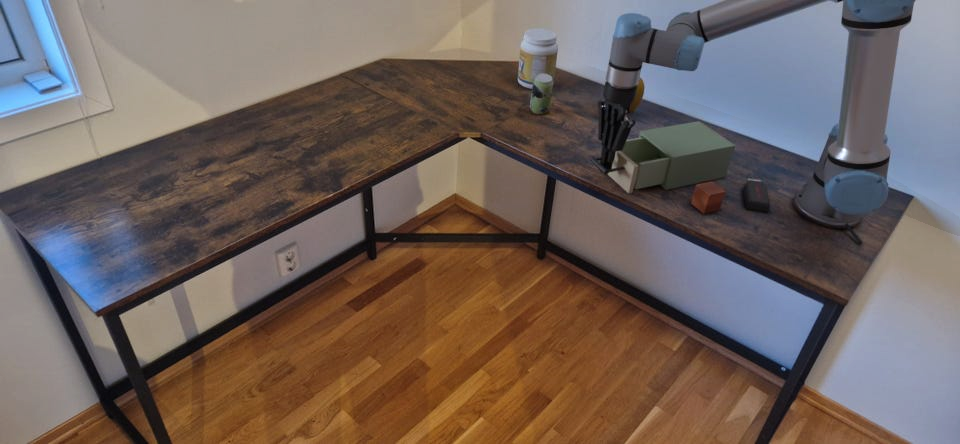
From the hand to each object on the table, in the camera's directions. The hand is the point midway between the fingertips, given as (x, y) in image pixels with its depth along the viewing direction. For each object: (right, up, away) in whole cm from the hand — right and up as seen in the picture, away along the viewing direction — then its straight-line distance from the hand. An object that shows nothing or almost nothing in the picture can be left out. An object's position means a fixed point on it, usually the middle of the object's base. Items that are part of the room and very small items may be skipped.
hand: (605, 170), depth 165 cm
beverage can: (-13, +21, +36) cm, 43 cm away
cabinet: (+22, +1, +11) cm, 25 cm away
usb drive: (+38, -7, +1) cm, 39 cm away
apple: (+12, +20, +37) cm, 44 cm away
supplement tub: (-13, +33, +54) cm, 64 cm away
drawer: (+9, -1, +5) cm, 10 cm away
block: (+24, -9, -3) cm, 26 cm away
